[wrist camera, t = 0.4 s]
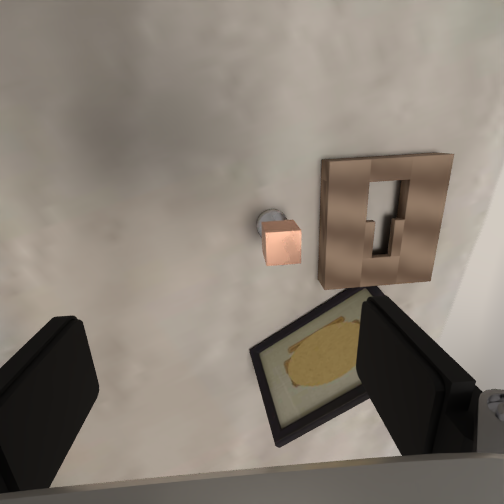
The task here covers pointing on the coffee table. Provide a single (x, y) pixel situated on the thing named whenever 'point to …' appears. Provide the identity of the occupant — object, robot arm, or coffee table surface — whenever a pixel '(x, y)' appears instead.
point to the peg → (279, 238)
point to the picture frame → (312, 367)
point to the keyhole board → (362, 231)
